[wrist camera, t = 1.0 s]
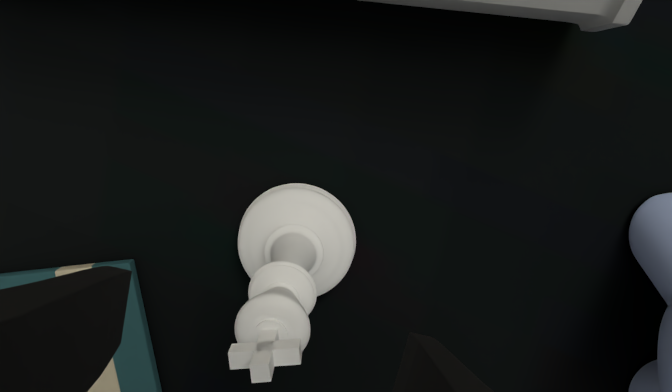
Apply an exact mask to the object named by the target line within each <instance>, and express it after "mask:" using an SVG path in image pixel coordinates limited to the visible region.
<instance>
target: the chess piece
mask: <svg viewBox="0 0 672 392" xmlns="http://www.w3.org/2000/svg"><path fill="white" fill-rule="evenodd" d="M355 248H356V234H355V228H354V225H353V222H352V219H351V217H350V215H349V213H348V211H347V210H346V208H345V207H344V206H343V205H342V203H341V202H340V201H339V200H338V199H337V198H335V197H334V196H333V195H332V194H330V193H328V192H327V191H325V190H323V189H321V188H319V187H316V186H313V185H308V184H302V183H291V184H284V185H280V186H277V187H274V188H271V189H269V190H267V191H266V192H264V193H263V194H261V195H260V196H259V197H257V198H256V199H255V200H254V201H253V202H252V203H251V205H250V206H249V207H248V209H247V210H246V212H245V214H244V216H243V218H242V221H241V224H240V228H239V233H238V252H239V257H240V260H241V263H242V265H243V267H244V269H245V271H246V273H247V274H248V276H249V277H250V278H251V281H250V284H249V288H248V297H249V301H247V302H246V303H245V304H244V305H243V306H242V308H241V309H240V311H239V312H238V315H237V317H236V320H235V336H236V340H237V342H238V343H237V344H231V347H230V349H229V351H228V358H229V365H230V370H233V369H246V368H250V373H251V381H252V383H259V382H271V379H272V375H273V371H274V366H286V365H300V364H301V359H302V351H303V350H304V349H305V347H306V345H307V343H308V341H309V337H310V321H309V318H308V315H309V314H310V312H311V311H312V309H313V308H314V305H315V303H316V298H317V296H319V295H322V294H324V293H326V292H327V291H329V290H331V289H332V288H333V287H335V286H336V285H337V284H338V283H339V282H340V281H341V280H342V278H343V277H344V276H345V274H346V273H347V271H348V269H349V267H350V265H351V262H352V260H353V257H354V253H355Z"/></svg>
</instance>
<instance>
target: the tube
mask: <svg viewBox="0 0 672 392" xmlns="http://www.w3.org/2000/svg"><path fill="white" fill-rule="evenodd" d="M359 1H369V2H378V3H388V4H398V5H408V6H417V7H427V8H437V9H446V10H456V11H466V12H476V13H485V14H495V15H505V16H514V17H524V18H534V19H543V20H553V21H563V22H571V23H575V24H578V25H579V27H580V29H581V30H582V31H590V32H596V31H601V30H606V29H610V28H615V27H619V26H624V25H628V24H629V23H630V21H631V20H632V18H633V16H634V14H635V12H636V11H637V9H638V7H639V5H640V4H641V2H642V0H359Z"/></svg>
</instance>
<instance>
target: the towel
mask: <svg viewBox="0 0 672 392" xmlns="http://www.w3.org/2000/svg"><path fill="white" fill-rule="evenodd" d="M100 266H112V267H117V268H121V269H126V270H130V271H132V275H131V281H130V288H129V294H128V300H127V307H126V313H125V320H124V326H123V333H122V339H121V344H120V346H119V347H118V349H117V351H116V352H115V354H114V356H113V357H112V359H111V361H110V362H109V364H108V365H107V367H106V368H105V370H104V371H103V373H102V374H101V376H100V377H99V378H98V380H97V381H96V382H95V383H94V384H93V386H92V387H91V388H90V389H89V390H88V392H162V389H161V385H160V380H159V375H158V370H157V366H156V361H155V356H154V352H153V347H152V342H151V338H150V333H149V328H148V323H147V319H146V314H145V309H144V305H143V300H142V295H141V291H140V286H139V281H138V276H137V272H136V267H135V262H134V259H128V260H119V261H110V262H101V263H92V264H83V265H74V266H65V267H56V268H47V269H37V270H28V271H19V272H10V273H1V274H0V289H5V288H9V287H14V286H19V285H23V284H28V283H32V282H37V281H41V280H45V279H49V278H53V277H57V276H61V275H65V274H69V273H73V272H77V271H81V270H85V269H90V268H94V267H100Z"/></svg>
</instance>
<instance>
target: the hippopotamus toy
mask: <svg viewBox="0 0 672 392" xmlns="http://www.w3.org/2000/svg"><path fill="white" fill-rule="evenodd" d="M629 243H630V247H631V250H632V253H633V255H634V256H635V258H636V260H637V261H638V262H639V264H640V265H641V267H642V268H643V270H644V271H645V273H646V274H647V276H648V277H649V278H650V280H651V281H652V283H653V284H654V286H655V287H656V289H657V290H658V292H659V293H660V295H661V296H662V297H663V299H664V300H665V302H666V303H667V305H668V307H667V309H666V311H665V313H664V315H663V318H662V321H661V325H660V329H659V336H658V349H657V360H654V361H651V362H649V363H647V364H646V365H644V366H643V367H642V368H641V369H640V370H639V371H638V372H637V373H636V374H635V376H634V377H633V379H632V381H631V383H630V386H629V391H628V392H672V193H665V194H659V195H656V196H653V197H651V198H649V199H648V200H646V201H645V202H644V203H643V204H642V205H641V206H640V207H639V208H638V209H637V210H636V212H635V213H634V215H633V217H632V220H631V223H630V227H629Z"/></svg>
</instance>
